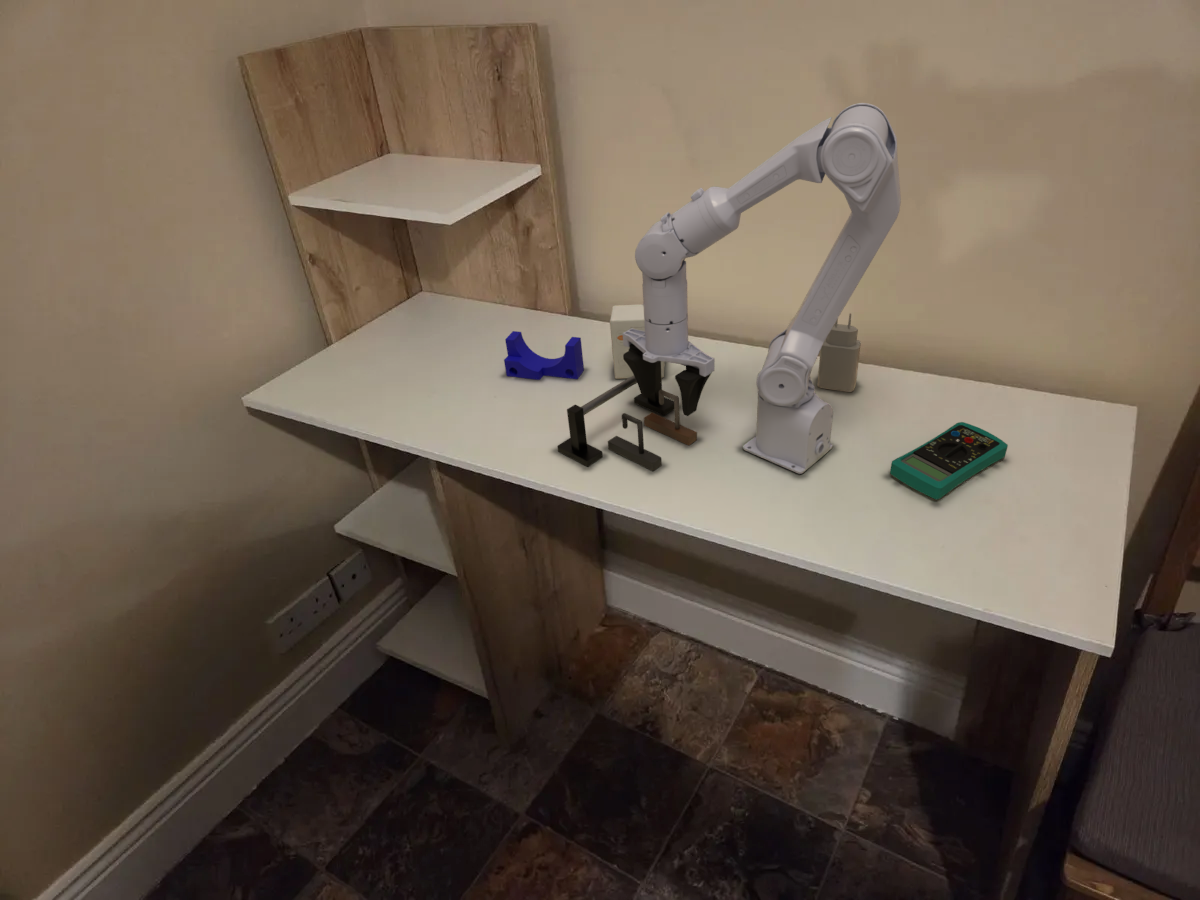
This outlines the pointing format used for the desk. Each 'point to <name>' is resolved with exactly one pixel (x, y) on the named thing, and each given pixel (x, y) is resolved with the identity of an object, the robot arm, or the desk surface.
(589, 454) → the rail stand
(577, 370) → the blue curved cradle bracket
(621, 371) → the small box
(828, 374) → the power adapter
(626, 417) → the black hanger
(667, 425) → the walnut hanger
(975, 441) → the digital multimeter
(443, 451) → the desk surface
